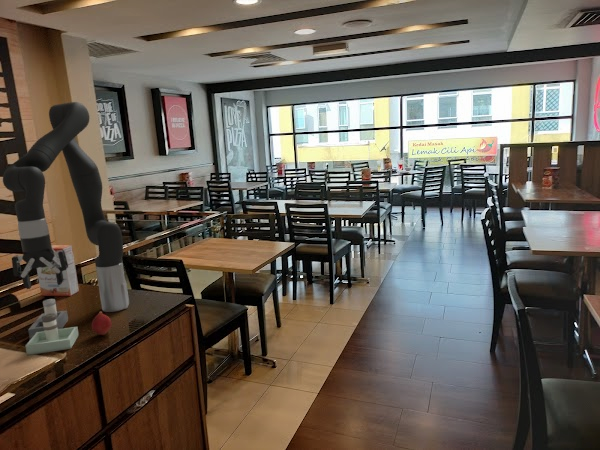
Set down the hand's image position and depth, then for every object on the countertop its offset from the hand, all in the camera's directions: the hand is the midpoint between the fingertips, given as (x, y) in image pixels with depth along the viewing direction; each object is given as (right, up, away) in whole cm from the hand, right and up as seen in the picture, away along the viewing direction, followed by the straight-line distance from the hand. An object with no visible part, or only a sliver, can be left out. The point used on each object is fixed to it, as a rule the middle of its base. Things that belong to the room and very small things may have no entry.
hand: (44, 286), depth 133 cm
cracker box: (-24, -11, +53) cm, 59 cm away
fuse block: (-7, -17, +16) cm, 24 cm away
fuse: (-8, -16, +19) cm, 27 cm away
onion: (+14, -17, +9) cm, 24 cm away
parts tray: (+1, -19, +4) cm, 19 cm away
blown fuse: (+1, -18, +4) cm, 19 cm away
